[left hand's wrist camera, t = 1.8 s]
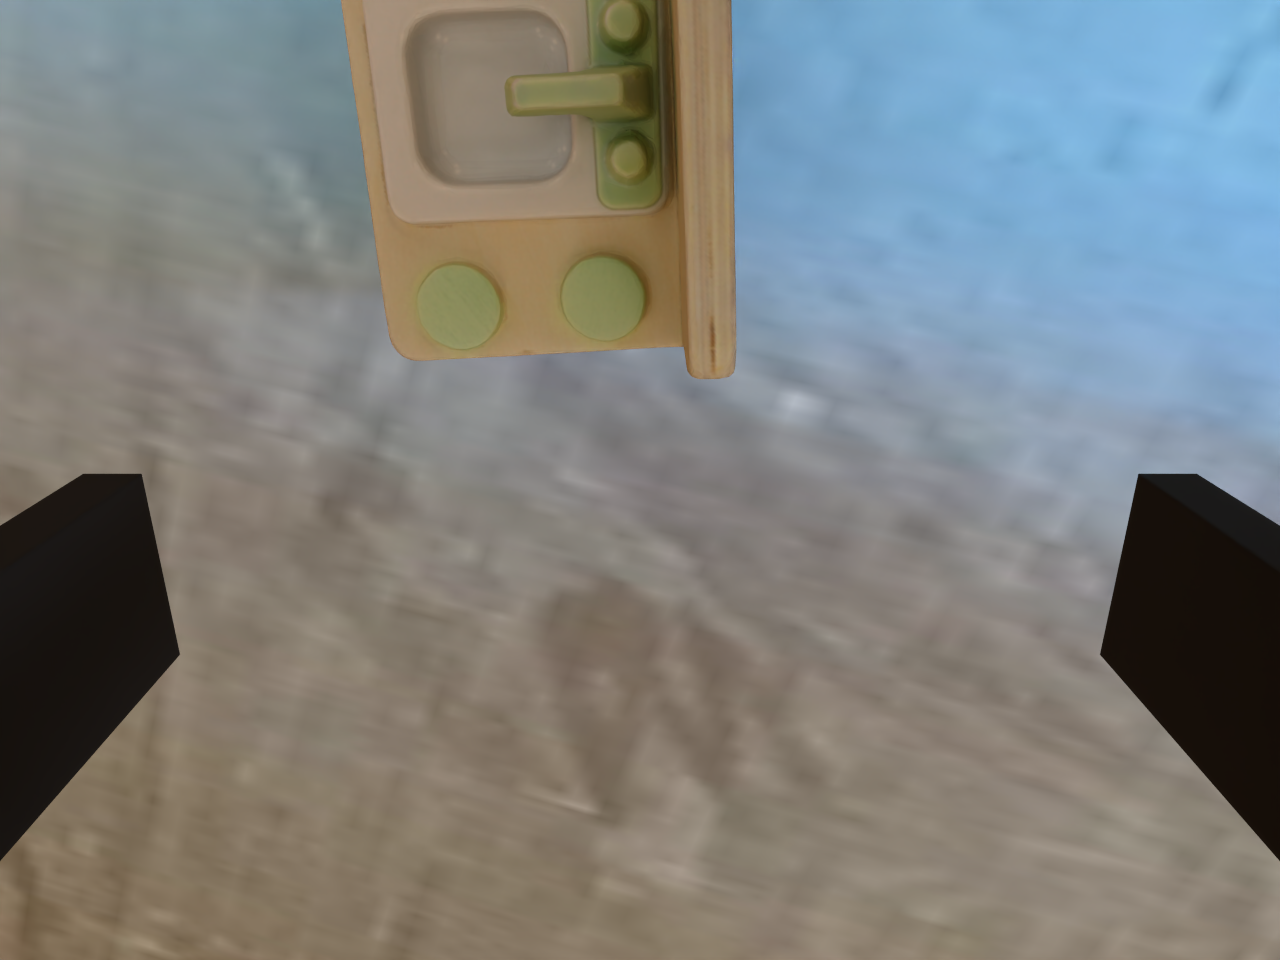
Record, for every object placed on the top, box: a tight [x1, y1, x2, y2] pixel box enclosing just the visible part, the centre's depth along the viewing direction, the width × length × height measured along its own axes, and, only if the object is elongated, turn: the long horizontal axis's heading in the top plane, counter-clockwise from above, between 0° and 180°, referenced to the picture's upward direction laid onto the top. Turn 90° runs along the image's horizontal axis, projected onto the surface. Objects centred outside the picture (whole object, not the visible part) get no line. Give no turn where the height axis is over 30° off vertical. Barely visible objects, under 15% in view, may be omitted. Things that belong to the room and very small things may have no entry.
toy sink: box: [341, 0, 736, 379], centre depth 21 cm, size 9×7×13 cm
